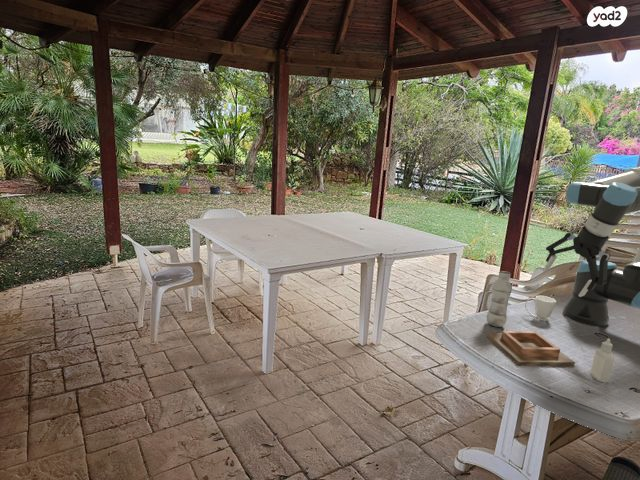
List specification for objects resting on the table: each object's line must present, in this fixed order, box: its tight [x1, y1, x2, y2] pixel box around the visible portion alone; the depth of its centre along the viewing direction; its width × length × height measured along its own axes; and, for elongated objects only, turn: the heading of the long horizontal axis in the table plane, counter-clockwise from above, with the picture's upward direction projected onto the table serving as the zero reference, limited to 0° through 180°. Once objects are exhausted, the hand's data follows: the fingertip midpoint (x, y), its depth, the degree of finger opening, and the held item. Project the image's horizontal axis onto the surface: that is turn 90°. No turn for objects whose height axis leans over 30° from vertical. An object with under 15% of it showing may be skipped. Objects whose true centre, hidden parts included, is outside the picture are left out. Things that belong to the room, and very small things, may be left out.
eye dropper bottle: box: [590, 338, 615, 383], centre depth 113 cm, size 4×6×12 cm
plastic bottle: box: [486, 270, 513, 328], centre depth 143 cm, size 6×7×20 cm
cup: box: [524, 294, 557, 322], centre depth 154 cm, size 7×10×8 cm
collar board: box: [486, 330, 576, 367], centre depth 127 cm, size 18×18×4 cm
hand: (562, 282), depth 137 cm, fingers open, 13 cm apart
